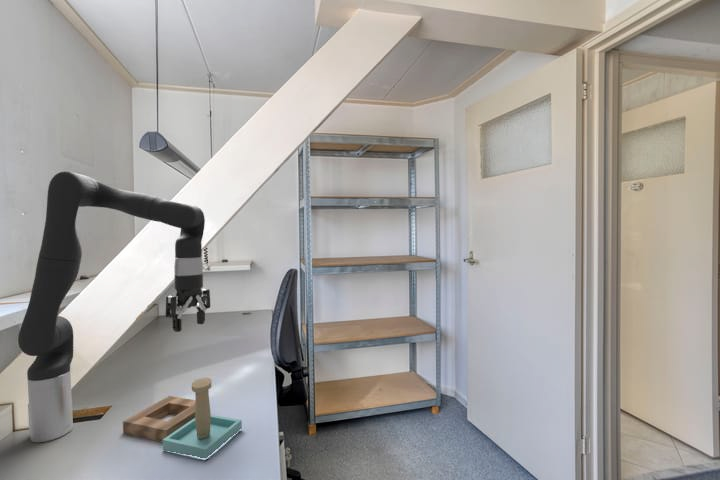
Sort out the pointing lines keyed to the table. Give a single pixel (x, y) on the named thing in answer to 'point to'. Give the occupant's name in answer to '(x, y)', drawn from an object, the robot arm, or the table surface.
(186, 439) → the tray
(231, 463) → the table surface
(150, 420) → the socket block
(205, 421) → the handle
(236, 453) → the table surface
